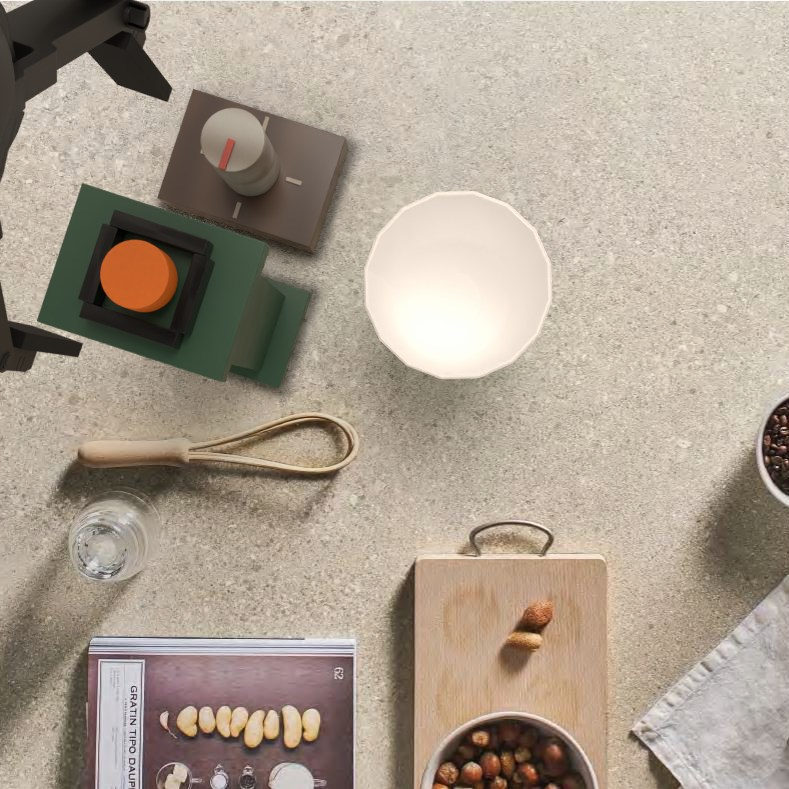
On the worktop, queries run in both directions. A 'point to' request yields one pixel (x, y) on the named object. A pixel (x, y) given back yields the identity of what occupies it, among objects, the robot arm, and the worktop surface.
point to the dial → (240, 151)
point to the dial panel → (282, 201)
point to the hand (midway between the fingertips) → (100, 214)
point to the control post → (177, 293)
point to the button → (138, 276)
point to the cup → (457, 284)
